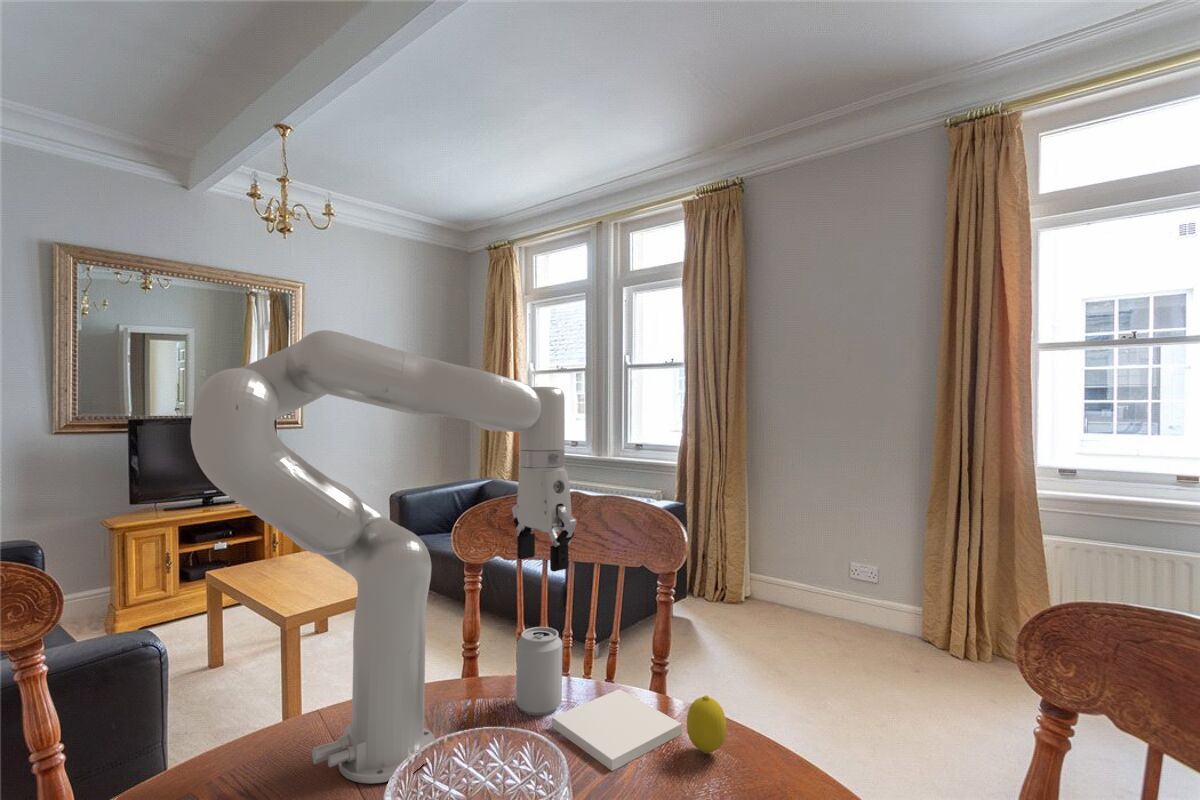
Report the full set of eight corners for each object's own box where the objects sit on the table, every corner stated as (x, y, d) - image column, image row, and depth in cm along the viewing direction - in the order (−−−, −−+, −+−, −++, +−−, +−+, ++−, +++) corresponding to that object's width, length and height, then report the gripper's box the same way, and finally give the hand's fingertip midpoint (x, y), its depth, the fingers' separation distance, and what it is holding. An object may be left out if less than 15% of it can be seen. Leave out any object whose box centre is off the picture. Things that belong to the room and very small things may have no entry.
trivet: (612, 771, 75) (612, 759, 75) (551, 726, 86) (552, 716, 86) (681, 733, 84) (681, 723, 84) (619, 698, 95) (619, 689, 95)
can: (566, 697, 95) (567, 625, 96) (555, 720, 88) (556, 643, 88) (524, 693, 97) (525, 622, 97) (509, 715, 89) (510, 639, 90)
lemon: (726, 767, 76) (726, 708, 77) (685, 762, 77) (685, 703, 78) (725, 744, 82) (725, 689, 82) (687, 740, 83) (687, 685, 83)
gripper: (592, 462, 89) (592, 570, 89) (532, 456, 103) (532, 550, 102) (553, 465, 85) (553, 579, 84) (496, 458, 98) (496, 557, 97)
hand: (542, 563), depth 93 cm, fingers open, 9 cm apart
